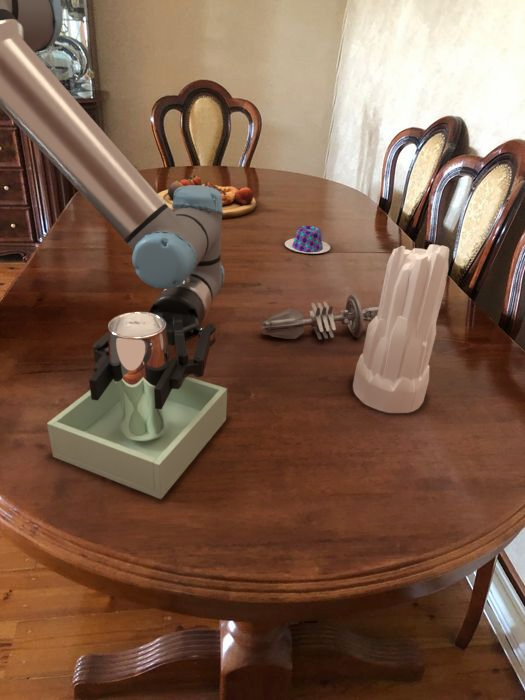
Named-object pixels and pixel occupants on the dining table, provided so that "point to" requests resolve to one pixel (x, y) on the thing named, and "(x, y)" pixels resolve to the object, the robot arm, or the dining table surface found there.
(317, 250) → the pudding
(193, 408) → the tub
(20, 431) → the dining table surface
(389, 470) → the dining table surface
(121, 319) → the beer glass
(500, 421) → the dining table surface
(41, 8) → the robot arm
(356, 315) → the spaceship
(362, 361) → the decorative vase
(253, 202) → the wooden plate
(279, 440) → the dining table surface
